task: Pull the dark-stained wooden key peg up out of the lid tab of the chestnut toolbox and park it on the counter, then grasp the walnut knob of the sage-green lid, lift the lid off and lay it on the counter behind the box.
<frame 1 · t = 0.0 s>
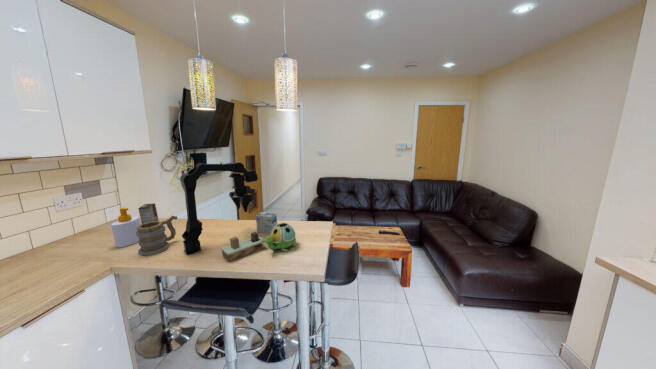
hand: (242, 210, 140), 15 cm above the counter, fingers open, 9 cm apart
lid: (235, 248, 117), point 3 cm above the counter, touching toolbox
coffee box: (151, 229, 154), on the counter
tankard: (162, 246, 130), on the counter
key peg: (255, 247, 125), resting in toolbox
light bulb box: (267, 231, 146), on the counter
turtle holder: (282, 247, 125), on the counter
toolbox: (239, 253, 119), on the counter
soap bottle: (130, 242, 136), on the counter
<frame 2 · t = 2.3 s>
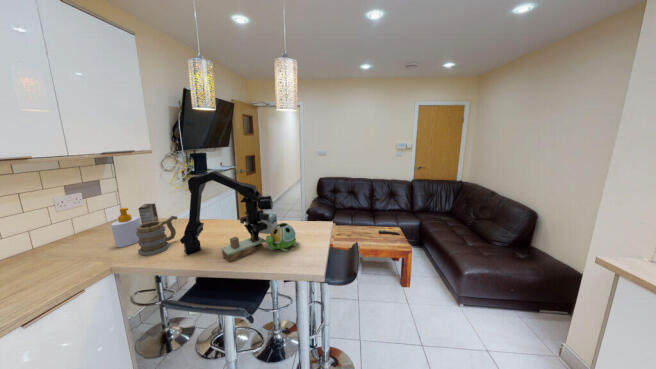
hand: (254, 238, 124), 5 cm above the counter, fingers closed on key peg, 3 cm apart
key peg: (255, 247, 125), resting in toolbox, touching gripper
everything else where it was.
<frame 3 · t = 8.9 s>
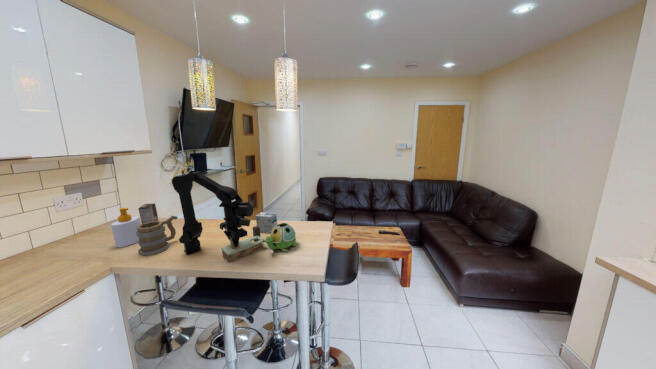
hand: (235, 245, 117), 5 cm above the counter, fingers closed on lid, 3 cm apart
lid: (235, 248, 118), point 3 cm above the counter, touching gripper, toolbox
key peg: (257, 240, 133), on the counter
everything else where it was.
when the fingers open (3 cm above the counter, at t = 12.9 s): lid drops 1 cm, on the counter.
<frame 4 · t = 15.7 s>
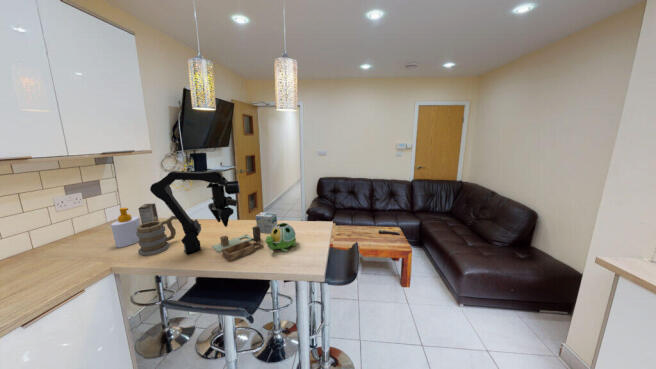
hand: (222, 224, 125), 12 cm above the counter, fingers open, 9 cm apart
lid: (225, 246, 128), on the counter
everything else where it was.
at the end: lid inside the target area (0.5 cm from its centre), on the counter; lid touching counter; key peg inside the target area (1.5 cm from its centre), on the counter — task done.
